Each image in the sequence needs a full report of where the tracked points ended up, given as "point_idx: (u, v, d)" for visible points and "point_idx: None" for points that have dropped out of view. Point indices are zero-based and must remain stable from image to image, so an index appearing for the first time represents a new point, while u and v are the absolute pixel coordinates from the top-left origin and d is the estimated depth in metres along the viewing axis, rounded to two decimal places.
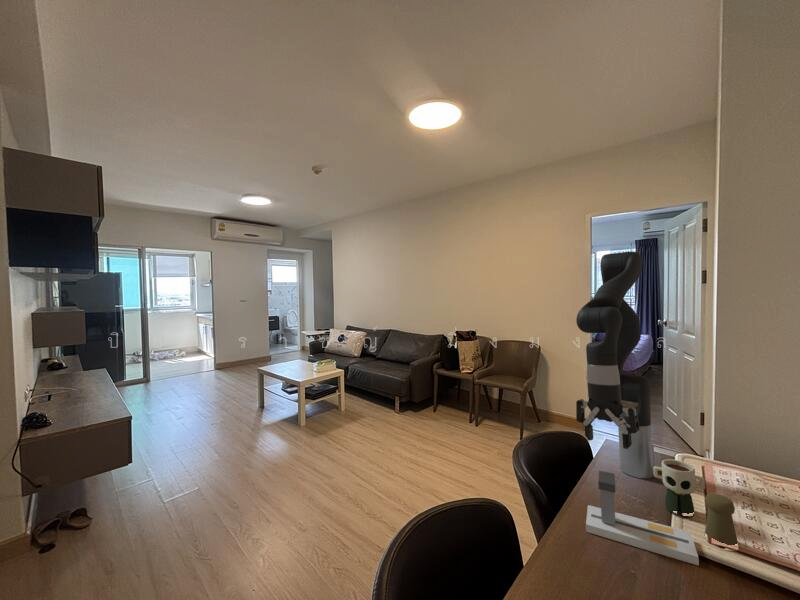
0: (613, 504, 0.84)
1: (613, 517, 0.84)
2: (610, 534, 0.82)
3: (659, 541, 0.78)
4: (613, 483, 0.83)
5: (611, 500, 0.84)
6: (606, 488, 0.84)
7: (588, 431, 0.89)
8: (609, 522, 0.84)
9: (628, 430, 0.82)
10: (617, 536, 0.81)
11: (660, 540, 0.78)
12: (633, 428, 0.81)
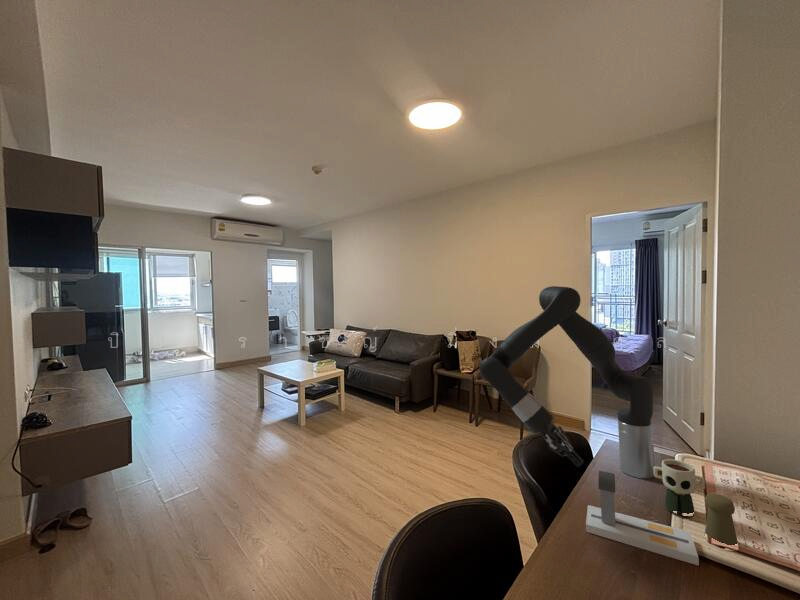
0: (613, 504, 0.84)
1: (613, 517, 0.84)
2: (610, 534, 0.82)
3: (659, 541, 0.78)
4: (613, 483, 0.83)
5: (611, 500, 0.84)
6: (606, 488, 0.84)
7: None
8: (609, 522, 0.84)
9: None
10: (617, 536, 0.81)
11: (660, 540, 0.78)
12: None
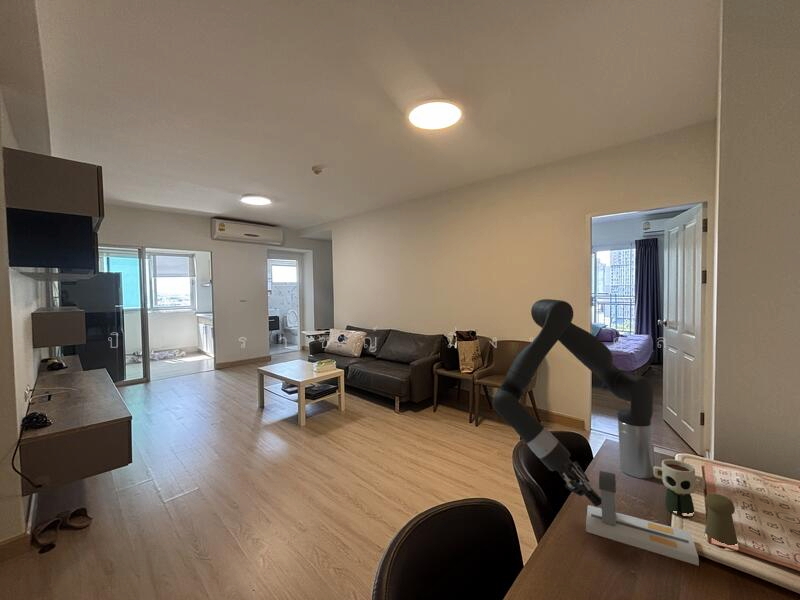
0: (614, 504, 0.84)
1: (614, 517, 0.84)
2: (610, 534, 0.82)
3: (659, 541, 0.78)
4: (614, 483, 0.83)
5: (612, 500, 0.84)
6: (607, 488, 0.84)
7: None
8: (610, 522, 0.84)
9: None
10: (617, 536, 0.81)
11: (660, 540, 0.78)
12: None
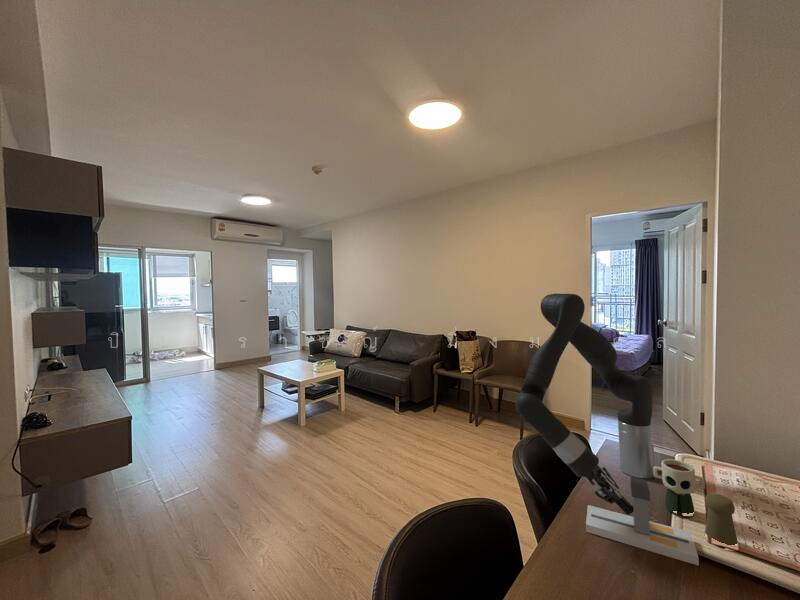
0: (647, 513, 0.80)
1: (647, 526, 0.80)
2: (610, 534, 0.82)
3: (659, 541, 0.78)
4: (647, 491, 0.80)
5: (645, 508, 0.80)
6: (640, 496, 0.80)
7: None
8: (643, 531, 0.81)
9: None
10: (617, 536, 0.81)
11: (660, 540, 0.78)
12: None
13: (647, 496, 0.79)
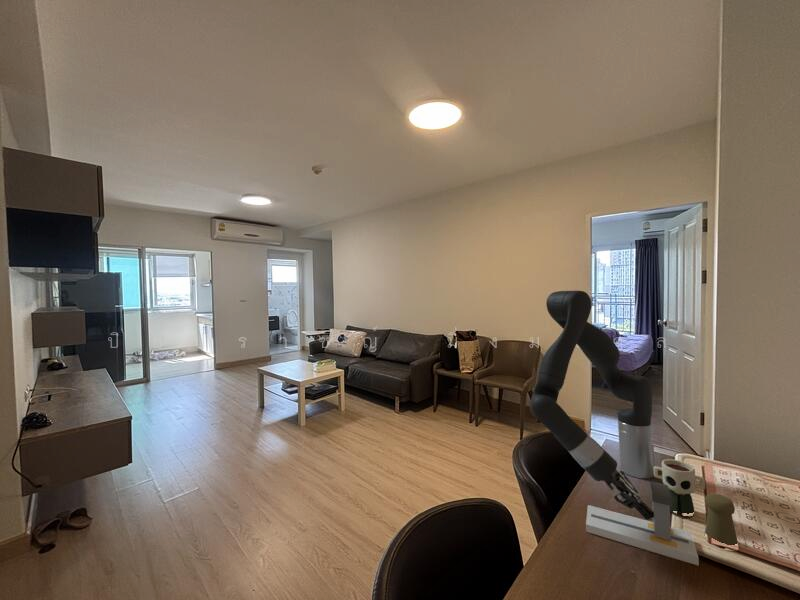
0: (668, 518, 0.78)
1: (668, 532, 0.78)
2: (610, 534, 0.82)
3: (659, 541, 0.78)
4: (669, 495, 0.77)
5: (666, 514, 0.78)
6: (661, 501, 0.78)
7: None
8: (664, 537, 0.78)
9: None
10: (617, 536, 0.81)
11: (660, 540, 0.78)
12: None
13: (669, 501, 0.77)
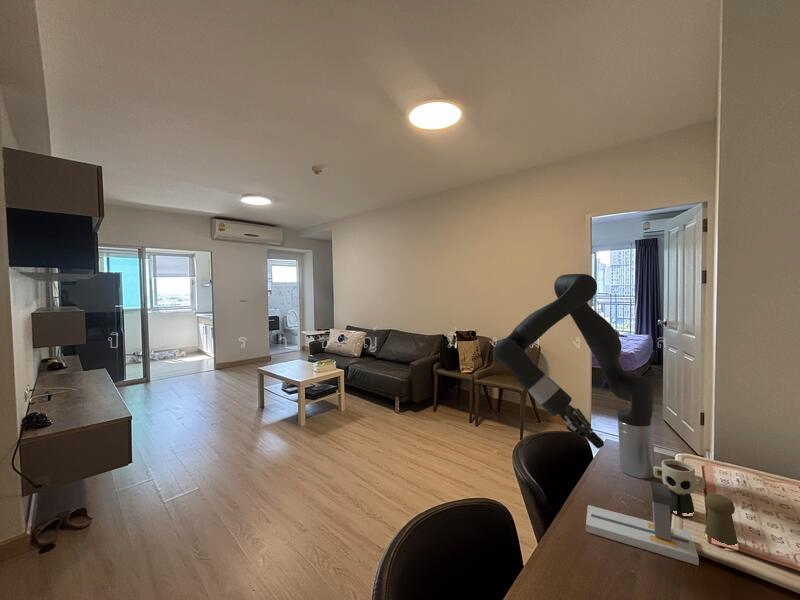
0: (669, 518, 0.78)
1: (669, 532, 0.78)
2: (610, 534, 0.82)
3: (659, 541, 0.78)
4: (669, 495, 0.77)
5: (666, 514, 0.78)
6: (661, 501, 0.78)
7: None
8: (664, 537, 0.78)
9: None
10: (617, 536, 0.81)
11: (660, 540, 0.78)
12: None
13: (669, 501, 0.77)
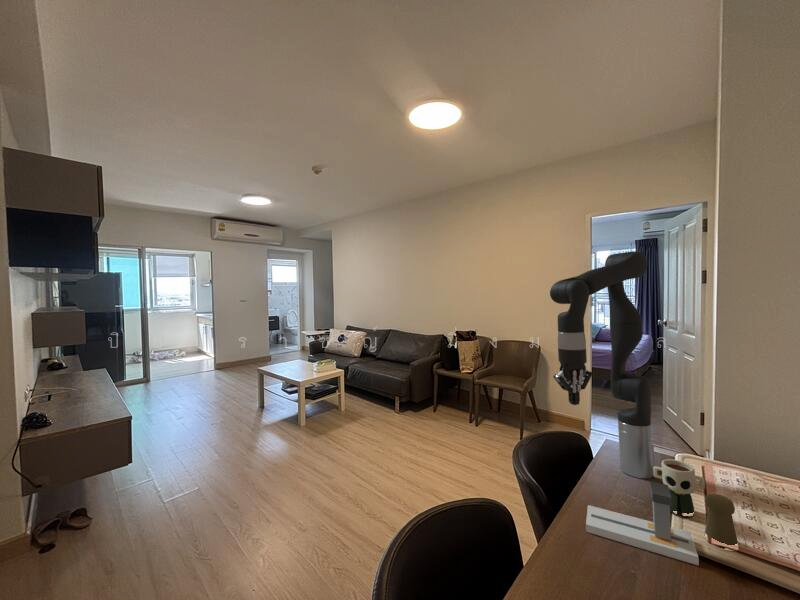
0: (669, 518, 0.78)
1: (669, 532, 0.78)
2: (610, 534, 0.82)
3: (659, 541, 0.78)
4: (669, 495, 0.77)
5: (666, 514, 0.78)
6: (661, 501, 0.78)
7: None
8: (664, 537, 0.78)
9: None
10: (617, 536, 0.81)
11: (660, 540, 0.78)
12: None
13: (669, 501, 0.77)
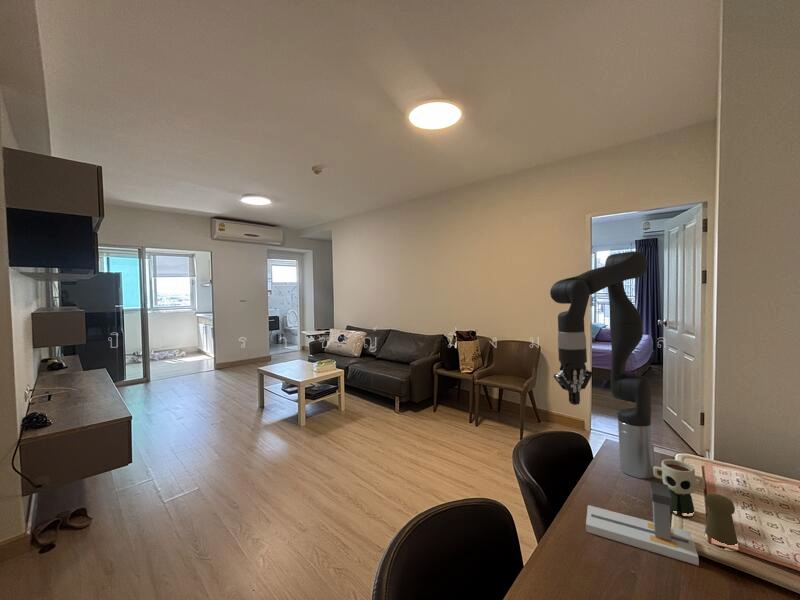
0: (669, 518, 0.78)
1: (669, 532, 0.78)
2: (610, 534, 0.82)
3: (659, 541, 0.78)
4: (669, 495, 0.77)
5: (666, 514, 0.78)
6: (661, 501, 0.78)
7: None
8: (664, 537, 0.78)
9: None
10: (617, 536, 0.81)
11: (660, 540, 0.78)
12: None
13: (669, 501, 0.77)
